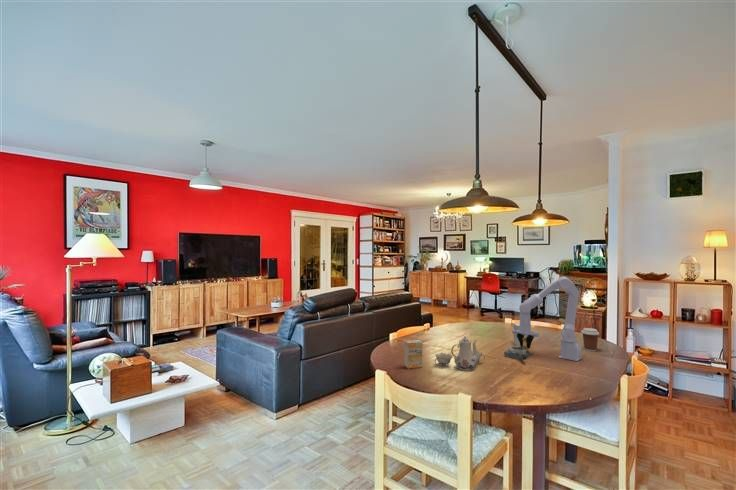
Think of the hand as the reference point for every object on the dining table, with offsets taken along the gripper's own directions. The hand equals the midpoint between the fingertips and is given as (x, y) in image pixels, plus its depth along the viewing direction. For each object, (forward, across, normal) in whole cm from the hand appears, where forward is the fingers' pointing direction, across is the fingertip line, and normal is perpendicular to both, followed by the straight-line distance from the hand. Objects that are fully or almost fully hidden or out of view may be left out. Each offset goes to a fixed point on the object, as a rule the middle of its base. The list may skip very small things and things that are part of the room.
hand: (525, 347), depth 205 cm
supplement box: (+3, +31, +63) cm, 70 cm away
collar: (+1, -2, +13) cm, 13 cm away
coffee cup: (+3, -24, -34) cm, 42 cm away
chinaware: (+4, +14, +45) cm, 47 cm away
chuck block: (+3, +1, +9) cm, 10 cm away
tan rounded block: (+3, 0, 0) cm, 3 cm away
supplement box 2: (+3, +10, -18) cm, 21 cm away
